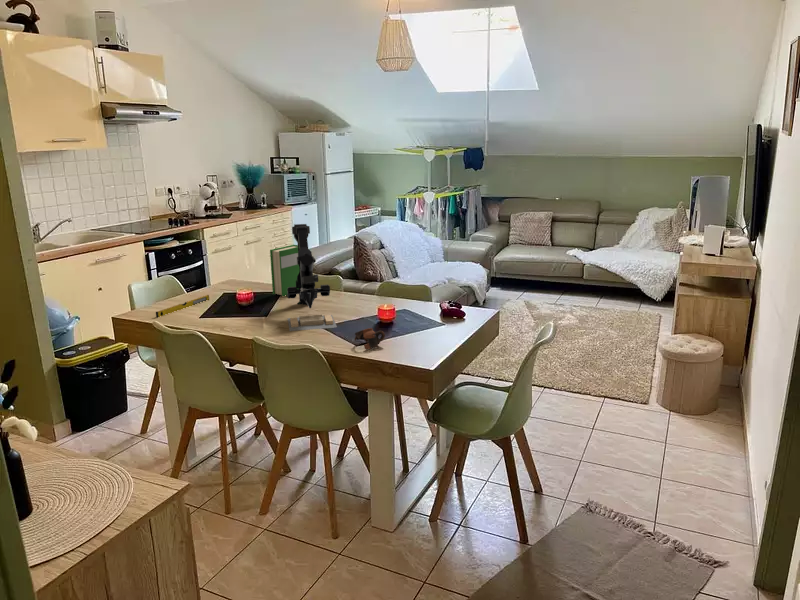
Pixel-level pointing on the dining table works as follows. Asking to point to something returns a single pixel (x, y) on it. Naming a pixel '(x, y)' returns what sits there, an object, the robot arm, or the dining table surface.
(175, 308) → the spirit level
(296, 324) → the plank mat
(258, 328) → the dining table surface
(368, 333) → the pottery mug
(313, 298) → the robot arm
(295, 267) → the hardback book
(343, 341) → the dining table surface
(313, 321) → the birch plank
